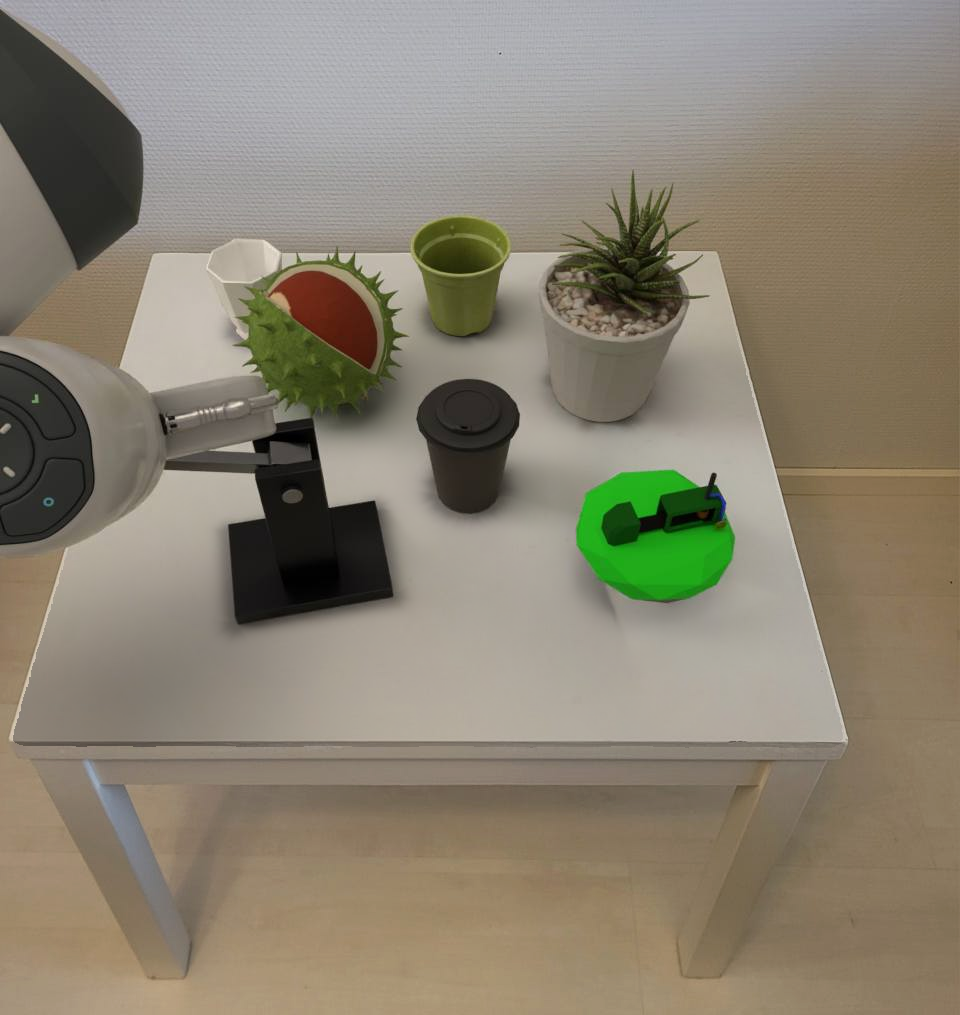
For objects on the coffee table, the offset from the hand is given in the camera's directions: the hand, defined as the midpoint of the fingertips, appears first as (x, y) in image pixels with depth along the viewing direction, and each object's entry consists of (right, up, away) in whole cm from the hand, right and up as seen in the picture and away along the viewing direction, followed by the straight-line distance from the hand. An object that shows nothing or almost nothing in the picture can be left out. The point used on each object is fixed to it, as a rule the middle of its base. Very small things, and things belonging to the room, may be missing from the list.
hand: (114, 439), depth 62 cm
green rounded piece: (+37, -9, +15) cm, 41 cm away
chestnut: (+10, +6, +27) cm, 30 cm away
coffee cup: (+22, -3, +20) cm, 30 cm away
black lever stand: (+10, -9, +15) cm, 20 cm away
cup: (+1, +14, +34) cm, 37 cm away
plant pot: (+22, +15, +34) cm, 43 cm away
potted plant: (+35, +6, +28) cm, 45 cm away
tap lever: (+4, -2, +5) cm, 7 cm away
